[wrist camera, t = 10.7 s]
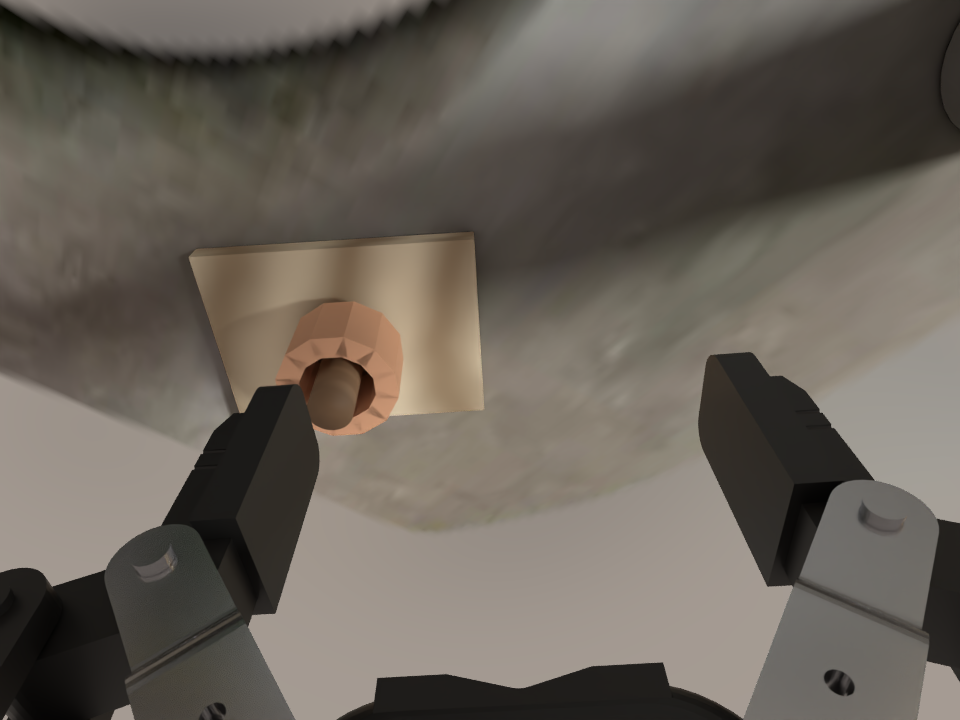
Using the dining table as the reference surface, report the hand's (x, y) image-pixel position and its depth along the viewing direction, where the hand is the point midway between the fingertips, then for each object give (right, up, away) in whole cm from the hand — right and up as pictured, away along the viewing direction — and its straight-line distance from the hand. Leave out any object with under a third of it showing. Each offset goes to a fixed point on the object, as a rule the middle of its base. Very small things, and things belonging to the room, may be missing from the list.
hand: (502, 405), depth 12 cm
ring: (-8, +1, +24) cm, 26 cm away
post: (-8, +2, +25) cm, 27 cm away
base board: (-8, +3, +26) cm, 28 cm away
